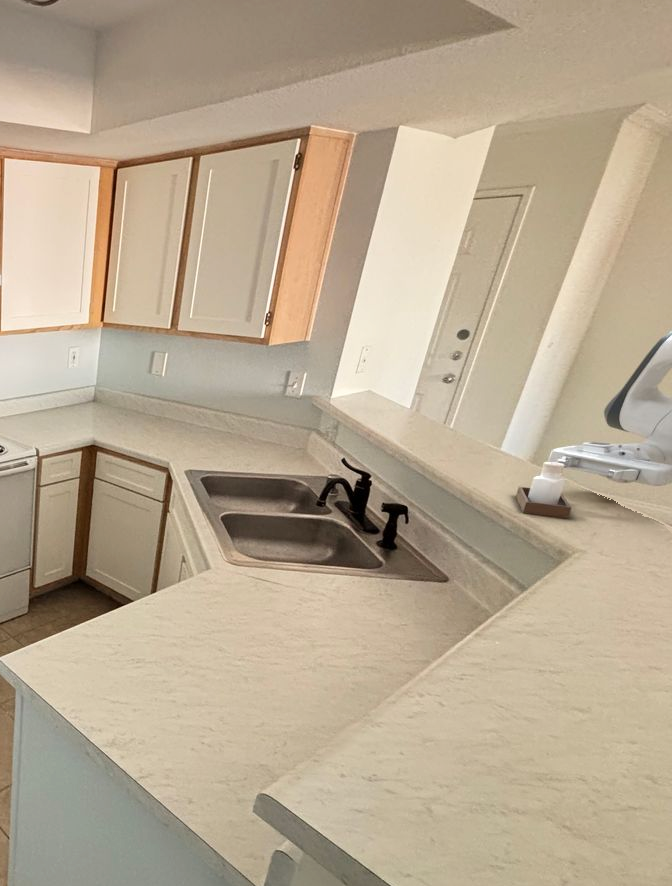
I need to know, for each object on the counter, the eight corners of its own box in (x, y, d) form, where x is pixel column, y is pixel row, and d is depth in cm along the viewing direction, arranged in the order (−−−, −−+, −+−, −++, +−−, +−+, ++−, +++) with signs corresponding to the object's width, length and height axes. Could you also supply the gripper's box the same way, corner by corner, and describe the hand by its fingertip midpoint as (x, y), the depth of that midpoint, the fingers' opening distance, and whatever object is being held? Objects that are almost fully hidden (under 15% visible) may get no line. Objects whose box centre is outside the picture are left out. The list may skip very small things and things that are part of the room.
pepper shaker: (545, 508, 128) (559, 466, 125) (524, 503, 131) (536, 462, 128) (558, 506, 129) (572, 464, 126) (536, 501, 132) (549, 460, 129)
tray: (515, 496, 137) (518, 486, 136) (557, 501, 133) (560, 491, 132) (522, 512, 127) (526, 501, 127) (568, 518, 123) (571, 507, 123)
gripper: (687, 489, 124) (641, 496, 121) (570, 465, 143) (528, 471, 140) (698, 460, 122) (652, 467, 119) (578, 440, 141) (536, 445, 138)
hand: (584, 469), depth 130 cm, fingers open, 8 cm apart
